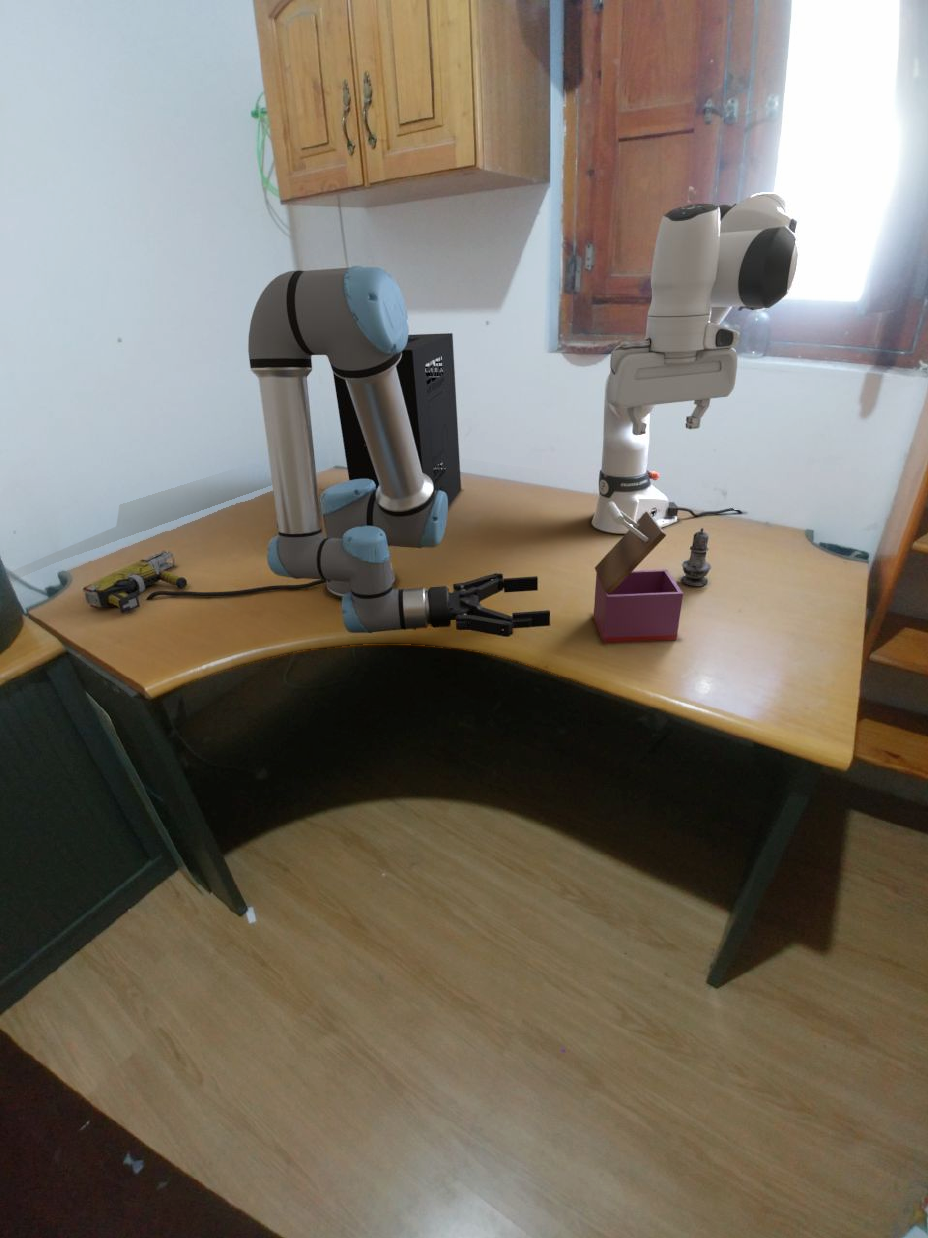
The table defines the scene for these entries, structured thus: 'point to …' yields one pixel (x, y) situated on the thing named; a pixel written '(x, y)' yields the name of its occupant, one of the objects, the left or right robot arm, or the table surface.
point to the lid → (628, 548)
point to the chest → (639, 608)
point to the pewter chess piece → (697, 561)
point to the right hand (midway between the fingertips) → (665, 431)
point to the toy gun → (131, 583)
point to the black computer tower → (415, 414)
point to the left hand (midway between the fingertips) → (543, 599)
